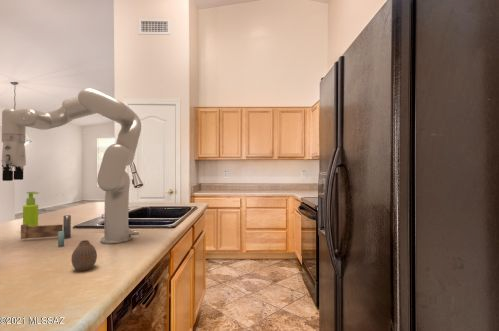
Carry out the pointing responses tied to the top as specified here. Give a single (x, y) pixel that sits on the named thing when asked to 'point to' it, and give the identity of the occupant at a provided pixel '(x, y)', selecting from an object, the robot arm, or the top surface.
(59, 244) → the post
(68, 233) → the hinge post
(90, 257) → the vase
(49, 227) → the gate
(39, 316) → the top surface
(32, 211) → the soap dispenser
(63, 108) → the robot arm
